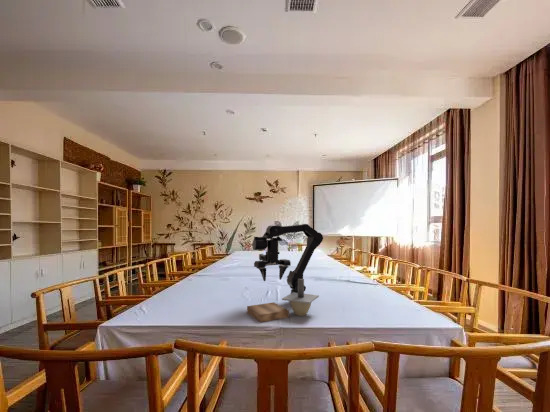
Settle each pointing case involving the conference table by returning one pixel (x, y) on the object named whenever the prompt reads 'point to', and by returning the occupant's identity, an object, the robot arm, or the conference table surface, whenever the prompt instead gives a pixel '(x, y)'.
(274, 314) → the stand
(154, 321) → the conference table surface
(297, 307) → the flower pot
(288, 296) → the cover
